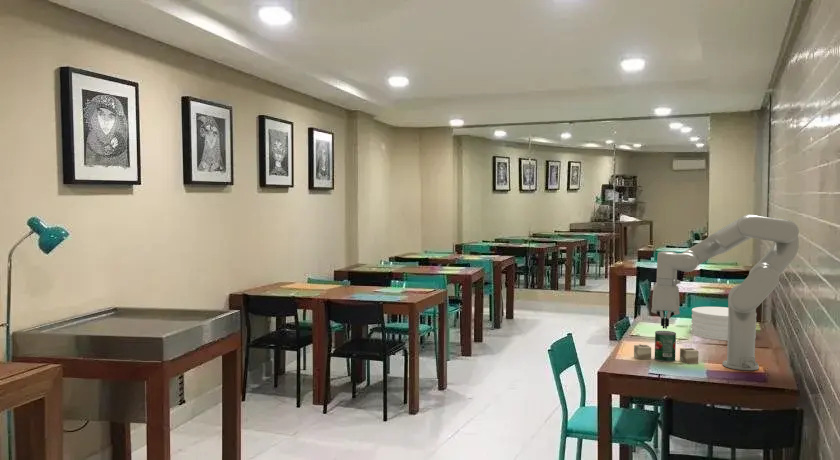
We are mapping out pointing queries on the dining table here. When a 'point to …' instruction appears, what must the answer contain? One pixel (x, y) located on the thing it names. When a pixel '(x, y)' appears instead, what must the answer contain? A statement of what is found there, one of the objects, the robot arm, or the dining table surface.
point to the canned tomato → (665, 346)
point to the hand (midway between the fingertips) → (664, 327)
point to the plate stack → (710, 322)
